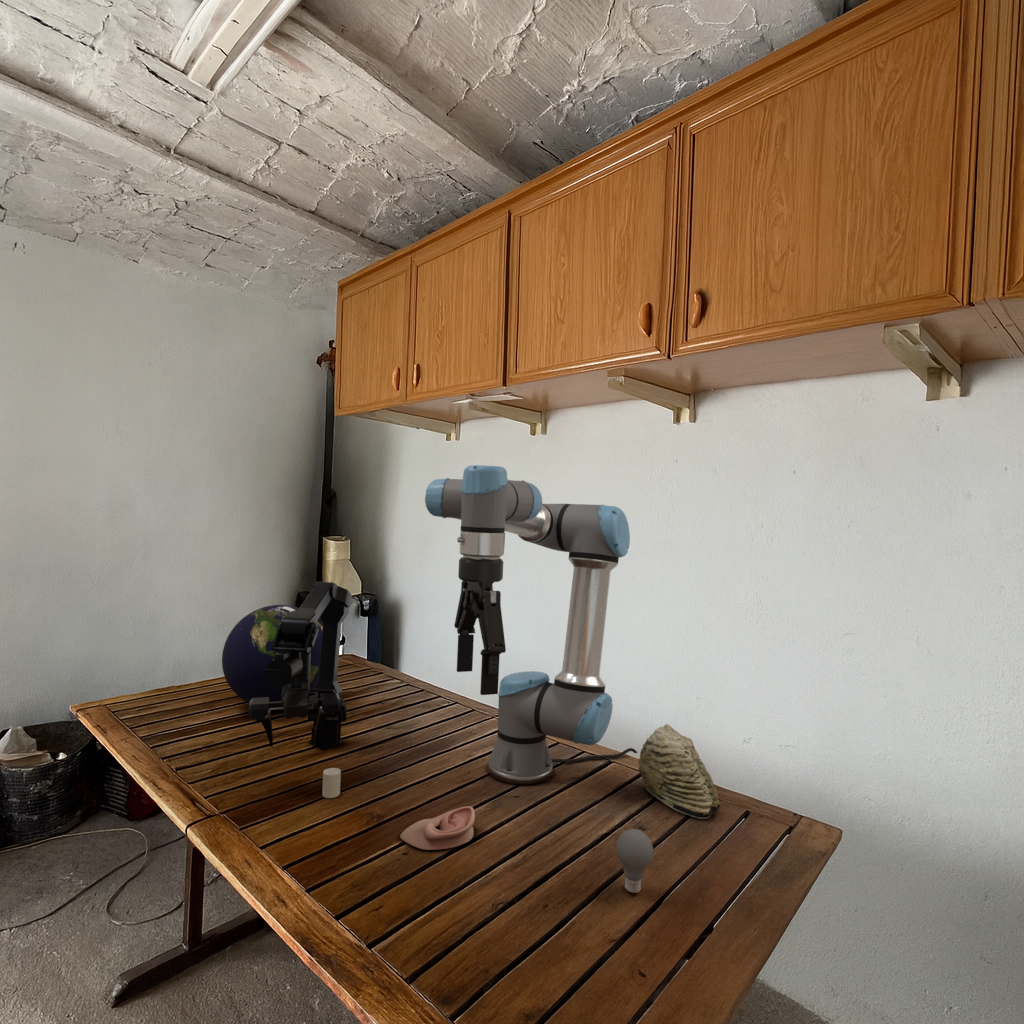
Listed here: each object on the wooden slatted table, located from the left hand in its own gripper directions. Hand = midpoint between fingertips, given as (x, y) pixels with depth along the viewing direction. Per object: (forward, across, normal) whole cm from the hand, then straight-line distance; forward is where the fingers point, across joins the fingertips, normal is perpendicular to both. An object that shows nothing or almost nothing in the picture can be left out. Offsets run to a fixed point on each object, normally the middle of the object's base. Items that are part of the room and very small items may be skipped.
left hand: (293, 743), depth 139 cm
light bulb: (+8, +53, -55) cm, 77 cm away
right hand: (-25, +28, -43) cm, 57 cm away
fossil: (+9, +79, -30) cm, 85 cm away
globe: (+9, -4, +53) cm, 54 cm away
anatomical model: (+9, +26, -30) cm, 40 cm away
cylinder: (+9, +8, -7) cm, 14 cm away
